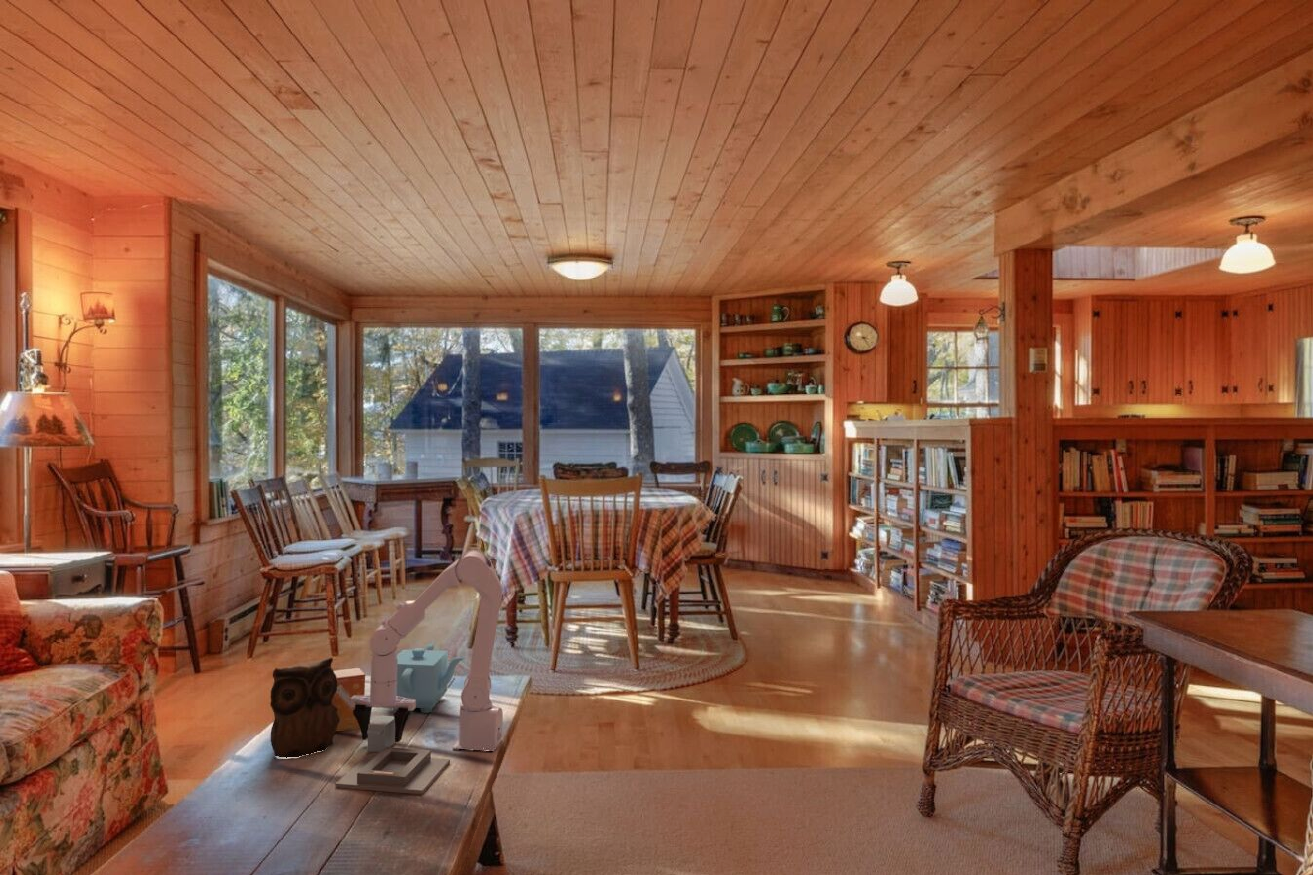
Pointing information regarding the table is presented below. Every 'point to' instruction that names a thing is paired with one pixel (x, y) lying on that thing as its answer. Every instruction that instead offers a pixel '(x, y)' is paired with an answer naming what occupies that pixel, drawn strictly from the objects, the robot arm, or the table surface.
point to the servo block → (381, 733)
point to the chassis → (395, 771)
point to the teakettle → (424, 675)
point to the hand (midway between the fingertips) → (382, 739)
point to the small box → (348, 696)
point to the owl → (303, 708)
